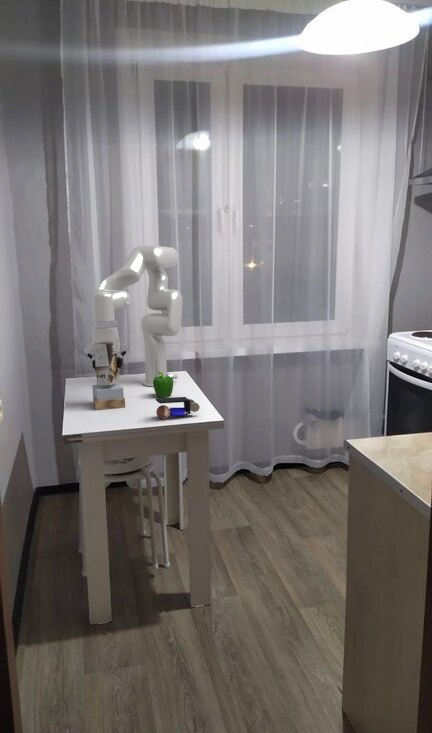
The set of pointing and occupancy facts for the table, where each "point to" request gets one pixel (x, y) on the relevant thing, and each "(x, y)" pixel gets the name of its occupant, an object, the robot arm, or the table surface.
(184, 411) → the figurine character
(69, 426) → the table surface
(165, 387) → the bell pepper
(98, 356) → the coffee box
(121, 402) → the tower base block
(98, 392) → the tower top block
